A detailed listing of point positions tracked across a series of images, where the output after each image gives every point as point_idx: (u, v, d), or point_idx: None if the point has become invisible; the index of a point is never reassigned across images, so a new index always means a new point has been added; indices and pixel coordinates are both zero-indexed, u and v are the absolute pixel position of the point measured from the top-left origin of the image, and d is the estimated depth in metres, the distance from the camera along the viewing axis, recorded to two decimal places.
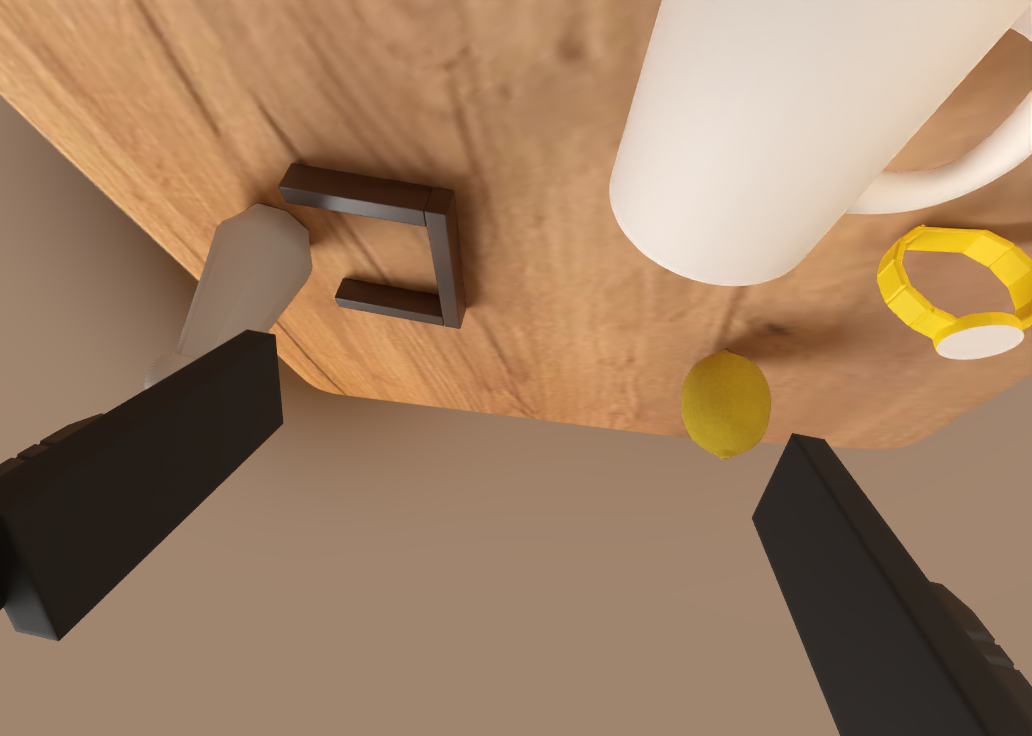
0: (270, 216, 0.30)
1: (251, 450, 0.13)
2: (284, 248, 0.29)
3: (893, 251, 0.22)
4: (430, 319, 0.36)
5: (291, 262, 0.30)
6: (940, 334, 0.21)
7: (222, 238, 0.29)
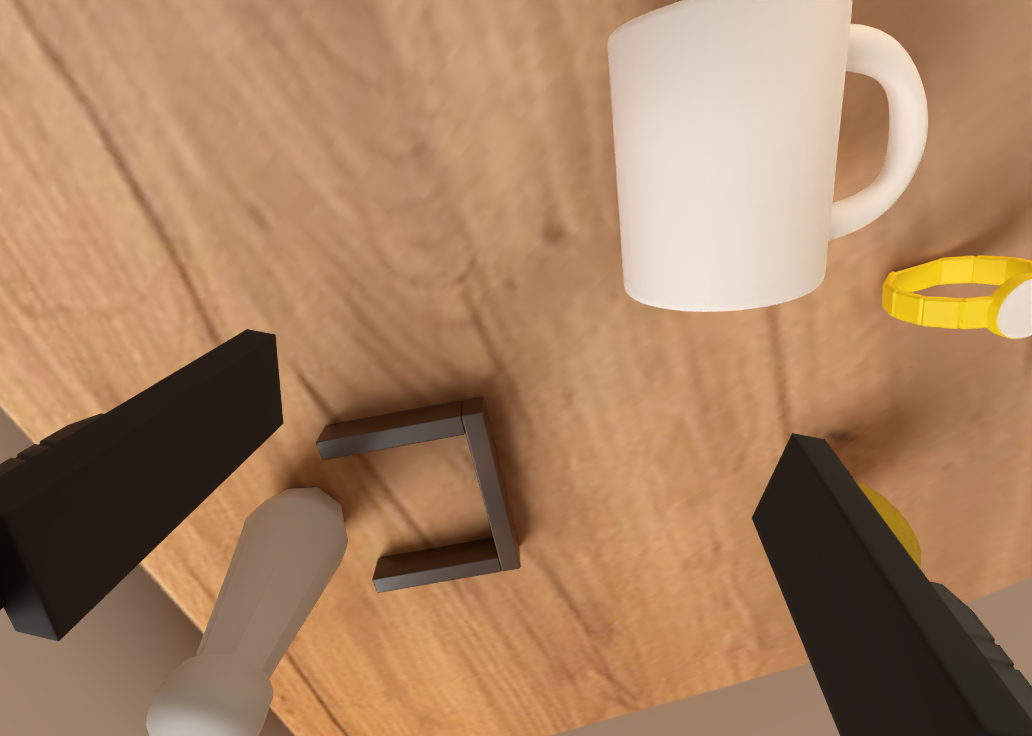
0: (302, 492, 0.29)
1: (251, 450, 0.13)
2: (320, 515, 0.27)
3: (888, 290, 0.24)
4: (484, 566, 0.31)
5: (327, 529, 0.27)
6: (990, 316, 0.21)
7: (254, 521, 0.26)
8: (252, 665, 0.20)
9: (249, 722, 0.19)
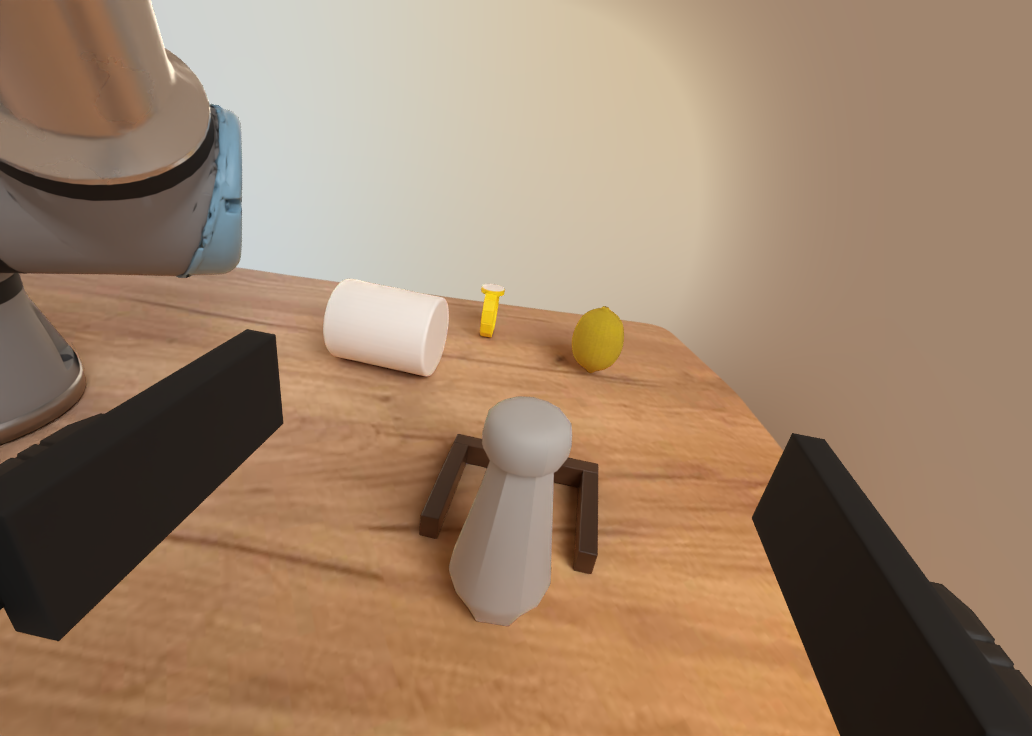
0: None
1: (250, 450, 0.13)
2: None
3: (481, 327, 0.58)
4: (589, 479, 0.37)
5: None
6: (492, 293, 0.58)
7: (454, 553, 0.27)
8: None
9: None
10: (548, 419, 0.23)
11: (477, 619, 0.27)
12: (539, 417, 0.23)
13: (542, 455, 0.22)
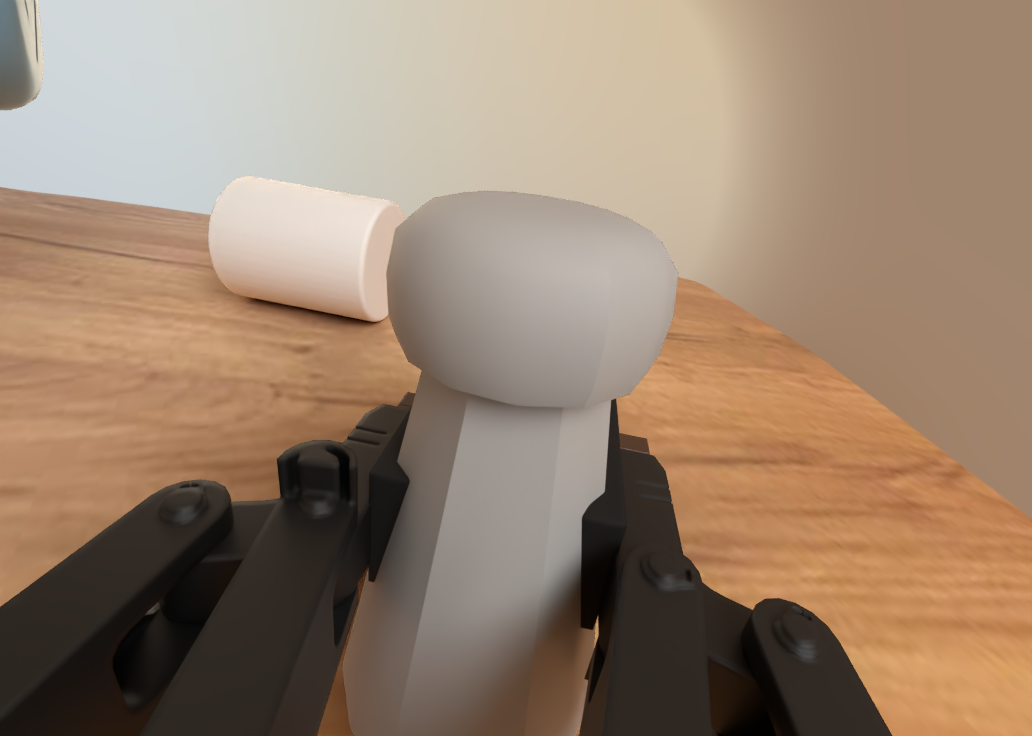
0: None
1: None
2: None
3: None
4: None
5: None
6: None
7: (350, 636, 0.11)
8: None
9: None
10: (601, 218, 0.07)
11: None
12: (571, 212, 0.07)
13: (591, 317, 0.06)
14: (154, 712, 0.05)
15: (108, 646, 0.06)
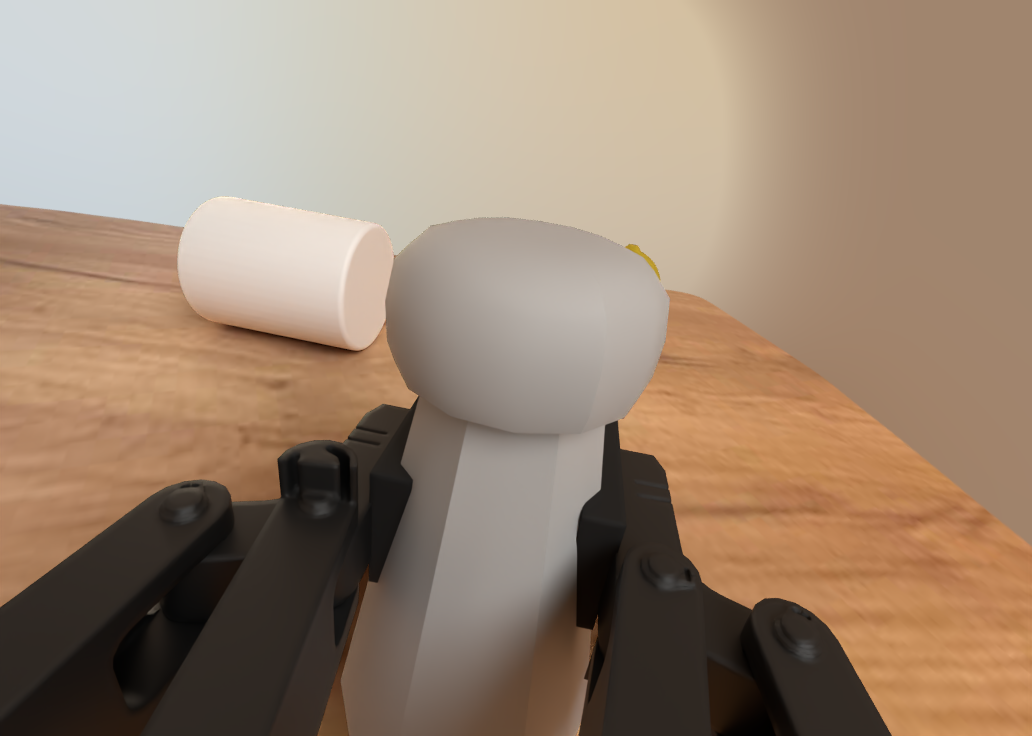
0: None
1: None
2: None
3: None
4: None
5: None
6: None
7: (349, 651, 0.11)
8: None
9: None
10: (595, 247, 0.07)
11: None
12: (565, 242, 0.07)
13: (587, 349, 0.06)
14: (155, 712, 0.05)
15: (109, 646, 0.06)
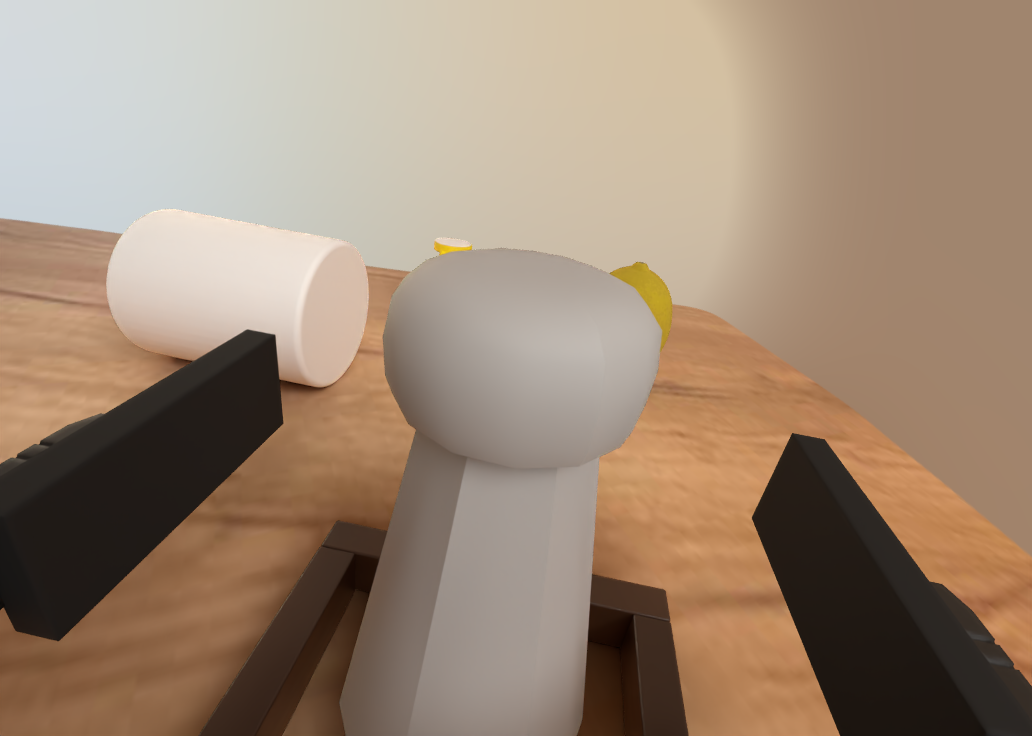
0: None
1: (251, 450, 0.13)
2: None
3: None
4: (653, 645, 0.15)
5: None
6: (450, 249, 0.36)
7: (347, 674, 0.11)
8: None
9: None
10: (590, 283, 0.07)
11: None
12: (561, 278, 0.07)
13: (586, 388, 0.06)
14: None
15: None
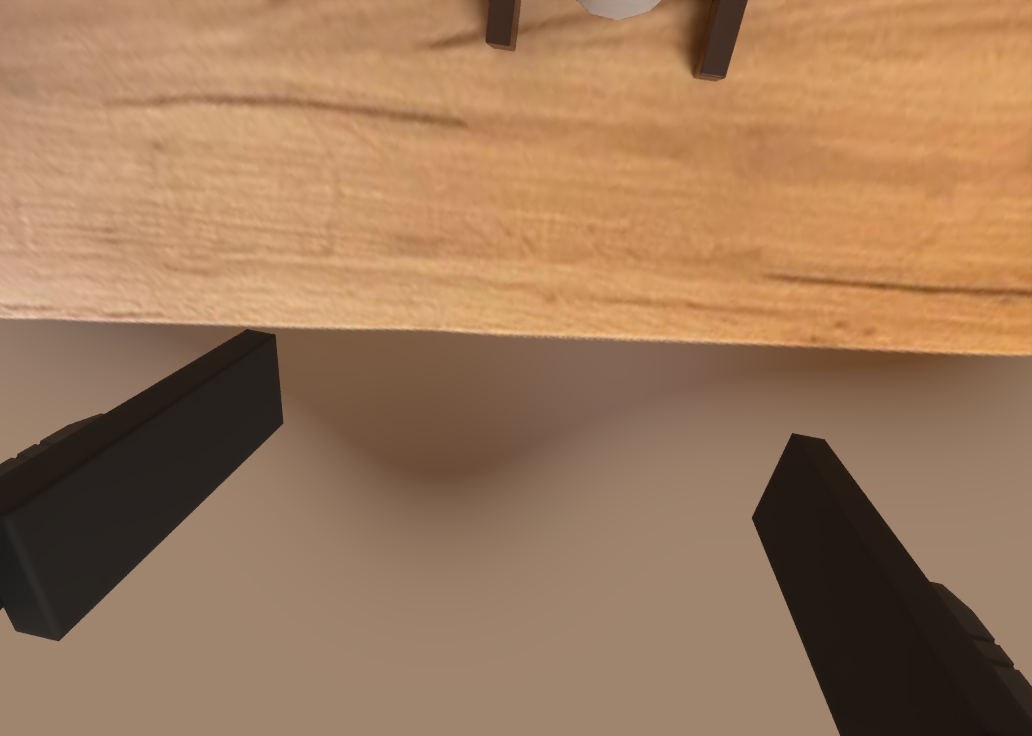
0: None
1: (251, 450, 0.13)
2: None
3: None
4: None
5: None
6: None
7: None
8: None
9: None
10: None
11: None
12: None
13: None
14: None
15: None
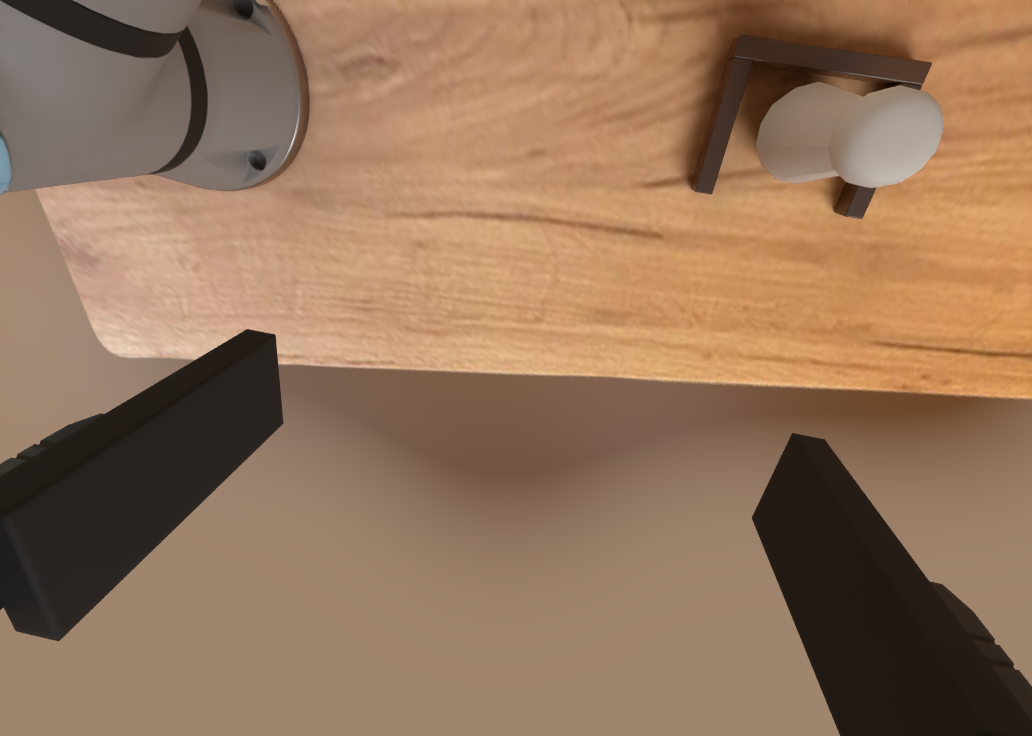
0: None
1: (250, 450, 0.13)
2: (791, 92, 0.30)
3: None
4: None
5: (808, 87, 0.30)
6: None
7: (765, 146, 0.31)
8: (866, 95, 0.23)
9: (912, 90, 0.22)
10: (915, 148, 0.22)
11: None
12: (905, 147, 0.22)
13: None
14: None
15: None
